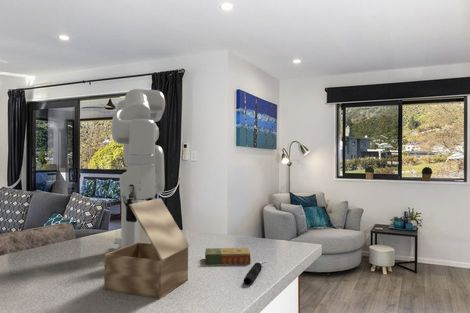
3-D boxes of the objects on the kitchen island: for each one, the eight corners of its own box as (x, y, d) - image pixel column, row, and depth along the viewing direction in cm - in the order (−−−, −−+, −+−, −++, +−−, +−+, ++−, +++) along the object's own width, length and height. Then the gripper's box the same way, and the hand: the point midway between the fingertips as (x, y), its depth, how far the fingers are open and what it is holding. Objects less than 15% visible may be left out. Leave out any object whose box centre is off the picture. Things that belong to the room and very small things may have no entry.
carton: (250, 265, 131) (250, 253, 131) (204, 265, 130) (205, 253, 130) (248, 258, 139) (248, 247, 139) (205, 259, 138) (205, 247, 138)
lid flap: (128, 205, 101) (130, 204, 101) (159, 199, 117) (160, 198, 116) (161, 260, 98) (162, 259, 98) (188, 246, 113) (189, 246, 113)
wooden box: (104, 290, 104) (104, 254, 104) (137, 273, 119) (137, 242, 119) (160, 298, 98) (161, 261, 98) (187, 280, 113) (188, 247, 113)
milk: (155, 263, 131) (156, 200, 131) (138, 265, 128) (139, 201, 128) (150, 258, 136) (151, 198, 136) (133, 260, 133) (134, 199, 133)
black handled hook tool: (256, 265, 130) (257, 257, 130) (268, 266, 129) (268, 258, 129) (242, 286, 109) (242, 276, 109) (255, 287, 108) (255, 277, 108)
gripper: (147, 160, 119) (146, 213, 119) (112, 161, 103) (111, 223, 103) (167, 160, 116) (167, 215, 116) (135, 161, 100) (134, 225, 100)
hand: (141, 218), depth 110 cm, fingers open, 9 cm apart
